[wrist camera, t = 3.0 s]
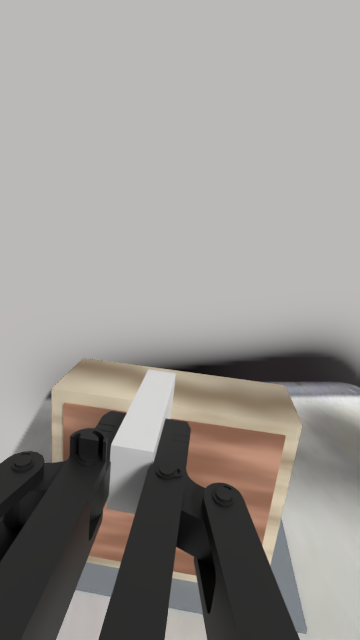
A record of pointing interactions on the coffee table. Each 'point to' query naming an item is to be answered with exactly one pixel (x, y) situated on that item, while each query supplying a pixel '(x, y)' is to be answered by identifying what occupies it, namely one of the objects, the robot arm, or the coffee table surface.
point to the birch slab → (191, 442)
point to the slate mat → (187, 592)
